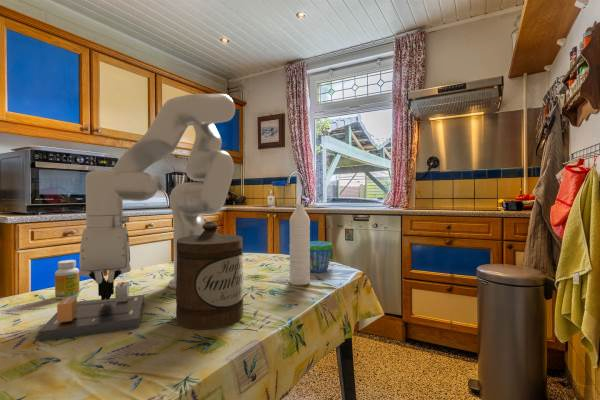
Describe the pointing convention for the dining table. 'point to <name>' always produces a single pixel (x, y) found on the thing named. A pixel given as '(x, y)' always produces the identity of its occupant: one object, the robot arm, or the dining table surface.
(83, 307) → the console
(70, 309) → the orange fader
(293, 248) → the water bottle
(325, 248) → the snack cup
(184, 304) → the wooden container
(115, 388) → the dining table surface
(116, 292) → the block
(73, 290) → the supplement bottle
